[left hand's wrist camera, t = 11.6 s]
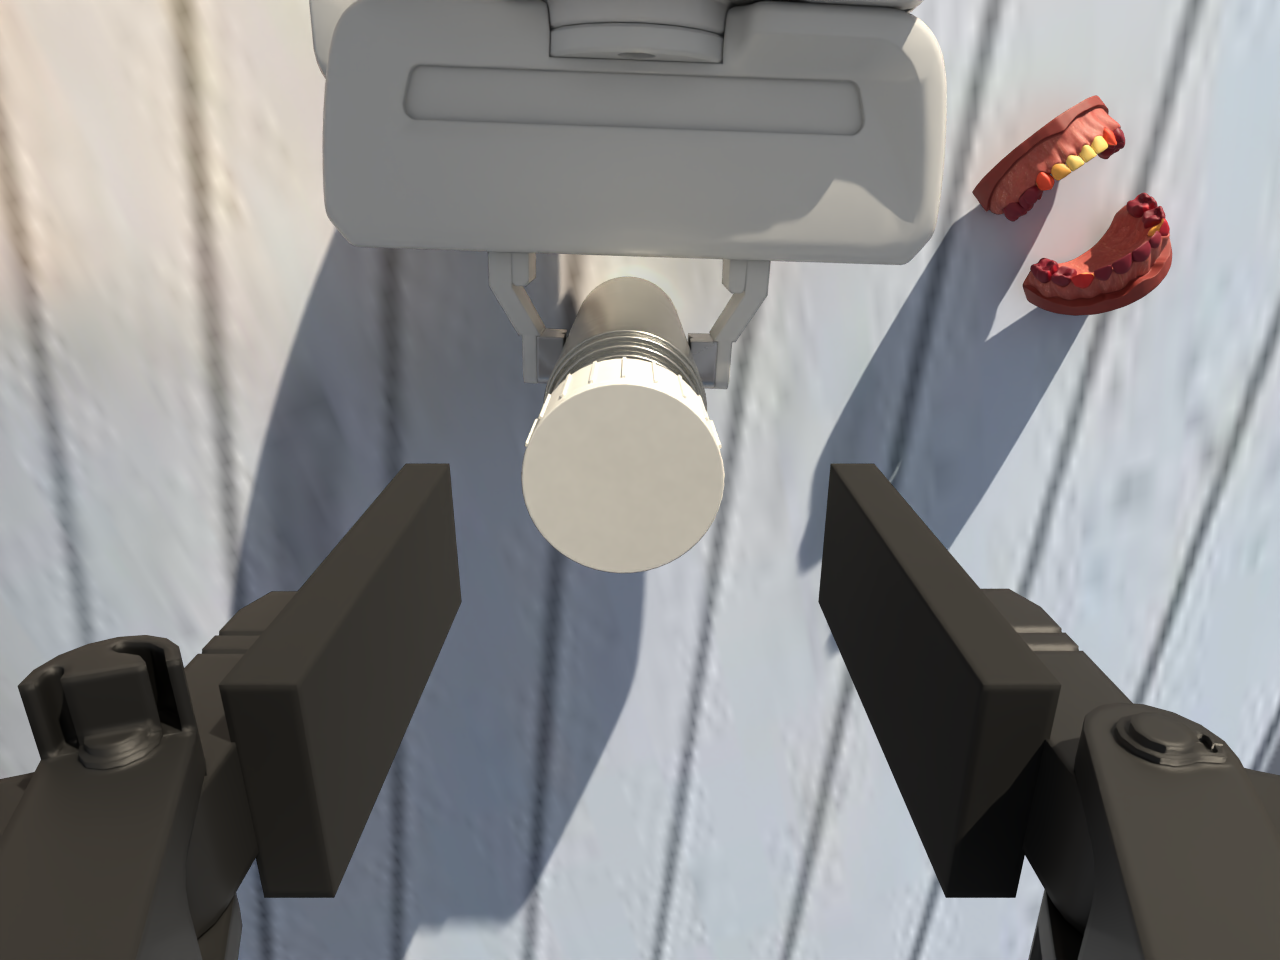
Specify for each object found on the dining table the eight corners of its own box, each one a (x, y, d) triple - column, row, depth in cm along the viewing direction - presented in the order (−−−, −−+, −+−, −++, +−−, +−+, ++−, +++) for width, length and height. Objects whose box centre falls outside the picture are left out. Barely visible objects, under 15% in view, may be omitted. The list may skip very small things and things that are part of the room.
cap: (545, 342, 18) (532, 364, 16) (731, 373, 19) (745, 400, 16) (523, 514, 20) (508, 559, 17) (695, 540, 20) (704, 588, 18)
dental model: (1140, 67, 28) (1221, 259, 30) (1080, 79, 32) (1156, 248, 34) (994, 165, 29) (1083, 342, 32) (954, 165, 33) (1035, 322, 36)
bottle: (584, 268, 34) (530, 355, 16) (688, 286, 35) (749, 391, 17) (569, 370, 36) (506, 555, 18) (669, 387, 36) (706, 585, 18)
